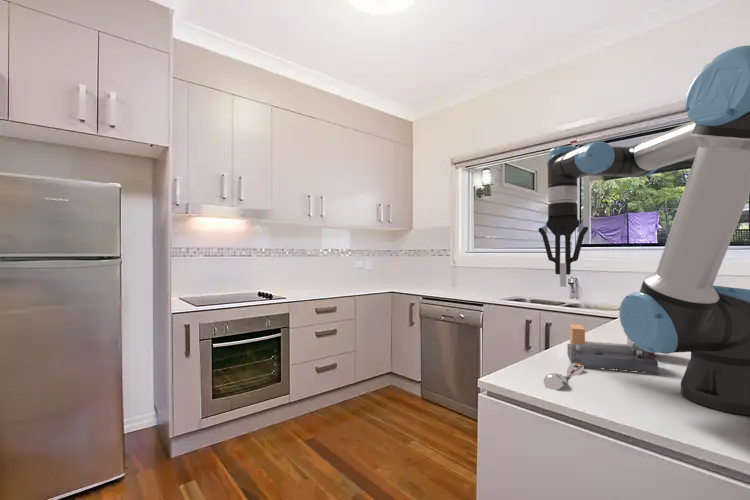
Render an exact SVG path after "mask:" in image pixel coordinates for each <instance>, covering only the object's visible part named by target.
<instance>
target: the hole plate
mask: <svg viewBox="0 0 750 500" xmlns="http://www.w3.org/2000/svg"><path fill="white" fill-rule="evenodd" d="M567 356H568V360H569V362H570V364H572V363H581V364H582V365H584V368H588V367H590V369H598V368H604V369H603V370H608V369H615V370H614V371H619V370H627V371H626V372H629V371H637V372H636V373H639V372H645V373H644V374H650V373H654V374H653V375H659V374H658V373H659V371H658V370H659V367H658V366H659V364H658V363H659V362H658V361H657V360H656V359H655V358H654V356H653V357H651V356H650V355H649V354H648V355H642V357H637V356H636V354H624V353H611V352H599V351H587V350H581V351H578V350H575V349H571V346H570V343H567ZM574 367H576V368H578V367H579V366H577V365H575V366H574ZM616 369H617V370H616Z"/></svg>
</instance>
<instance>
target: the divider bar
mask: <svg viewBox="0 0 750 500" xmlns="http://www.w3.org/2000/svg"><path fill="white" fill-rule="evenodd" d="M626 338H627V340H626V341H627V343H626V344H625V343H613V342H600V341H599V342H598V341H586V340H585V344H581V350H587V351H599V352H611V353H624V354H636V356H637V357H642V355H648V352H647V351H644V350H642V349H640V348H638V347H637V346H636V345H634V344H633V343H632V342H631V341H630V339H629V338H628V337H627V336H626ZM571 349H575V350H576V344H573V343H572V341H571Z"/></svg>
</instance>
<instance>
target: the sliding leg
mask: <svg viewBox="0 0 750 500" xmlns="http://www.w3.org/2000/svg"><path fill="white" fill-rule="evenodd" d="M569 340H570V341H569V344H570V346H571V341H572V343H573V344H576V350H578V351H581V344H585V341H586V330H585V327H584V326H583V325H582V324H569Z"/></svg>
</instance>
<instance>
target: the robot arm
mask: <svg viewBox="0 0 750 500" xmlns="http://www.w3.org/2000/svg"><path fill="white" fill-rule="evenodd" d="M688 87H689V88H688V89H687V92H686V96H685V101H684V108H685V110H686V111H687V113H686V115H687V117H688V118H689V119H690V122H687V123H685V124H681V125H680V126H677V127H674V128H672V129H670V130H668V131H666V132H663V133H660V134H658V135H655V136H653V137H651V138H648V139H645V140H643V141H642V142H639V143H637V144H634V145H631V146H611V145H610V144H608V143H607V142H605V141H594V142H589V143H587V144H584V145H583V146H581V147H578V148H577V147H576V146H573V145H563V146H561V145H560V146H558V147H557V146H556V147H553V148H551V149H550V150H549V151H548V153H547V154H548V155H547V163H546V164H547V202H548V205H547V221H546V223H545V225H542V227H539V228H538V233H540V235H541V237H542V241H543V244H544V247H545V251H546V255H547V258H548V259H547V260H549V261H550V262H553V263H554V273H555V275H559V287H562V288H563V287H564V288H566V287H567V275H568V276H569V275H571V270H572V268H571V265H572V263H573V262H577V261H578V259H579V257H580V252H581V249H582V244H583V241H584V238H585V235H586V233H588V231H589V227H588V226H585V225H583V224H581V222H580V220H579V218H578V210H579V209H578V208H579V207H578V203H577V201H578V198H579V197H578V179H580V178H584V177H588V176H593V177H599V176H600V177H625V178H626V177H629V178H630V177H631V178H643V177H644V178H645V177H648V176H652V175H653V174H654V173H655V172H657V170H658V169H660V168H663V167H664V168H665V167H666V166H670V165H672V164H673V165H674V164H676V163H679V162H682V161H686V160H690V159H692V158H694V160H693V163H692V165H691V169H690V171H689V174H688V178H687V181H686V183H685V186H684V188H683V192H682V195H681V199H680V201H679V204H678V208H677V211H676V213H675V215H674V218H673V221H672V225H671V227H670V231H669V233H668V237H667V239H666V243H665V245H664V248H663V252H662V253H661V257H660V260H659V262H658V266H657V268H656V271H655V272H653V273H649V274H648V275H645V277H643V280H642V283H641V287H640V289H639V292H638V291H634V292H631V293H629V294H628V295H626V296H625V297H623V299H622V301H620V306H619V311H618V313H619V315H618V316H619V322H620V325H621V327H622V328H623V332H624V334H625V335H626V338H627V337H628V338H629V339H630V341H631V342H632V343H633V344H634V345H636V346H637V347H638V348H640V349H642V350H644V351H647V352H651V353H654V354H663V355H664V354H665V355H669V354H675V353H690V359H689V362H688V364H687V366H686V369H685V370H684V374H683V376H682V378H681V381H680V395H681V396H682V397H684V398H685V399H686V400H689V401H691V402H694V403H695V404H698V405H701V406H703V407H706V408H711V409H713V410H717V411H722V412H726V413H732V414H737V415H742V416H750V289H748V288H742V287H739V288H738V287H729V286H722V285H721V286H720V285H714V283H715V281H716V278H717V276H718V273H719V271H720V268H721V265H722V264H723V260H724V258H725V256H726V255H727V251H728V248H729V247H730V244H731V241H732V239H733V237H734V234H735V230H736V229H737V226H738V223H739V221H740V219H741V216H742V214H743V211H744V209H745V206H746V205H747V201H748V200H749V197H750V44H749V45H742V46H741V45H740V46H736V47H734V48H731V49H728V50H725V51H724V52H722V53H720V54H718V55H717V56H716V57H714V58H713V59H712V61H711V62H709V63H706V64H705V65H704V66H703V67H702V69H700V71H699V72H698V73H697V75H695V77H694V78H693V80H692V81H691V83H690V86H688ZM548 229H549V230H550V232H551V233H552V234H553V236H554V251H555V252H554V256H553V253H552V252H553V251H552V248H551V245H550V242H549V237H548V235H547V234H548V232H549V231H548ZM576 230H577V232H578V236H577V239H576V243H575V246H574V250H573V254H572V256H571V247H572V246H571V235H573V233H574V232H575V231H576ZM561 236H564V252H565V253H564V257H565V258H564V260H565V262H561Z"/></svg>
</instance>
